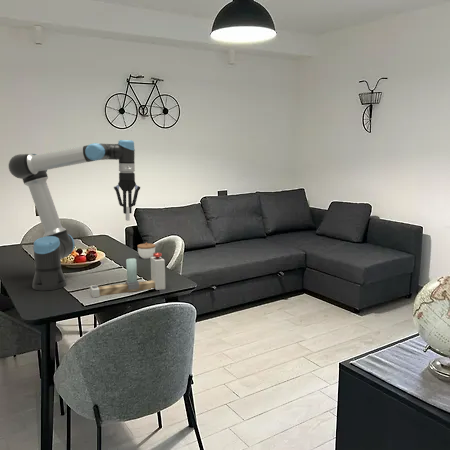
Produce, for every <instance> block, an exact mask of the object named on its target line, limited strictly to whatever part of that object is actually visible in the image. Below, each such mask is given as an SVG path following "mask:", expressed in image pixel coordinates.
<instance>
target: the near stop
mask: <svg viewBox="0 0 450 450" xmlns="http://www.w3.org/2000/svg"><path fill="white" fill-rule="evenodd" d="M98 287H99V286H98V284H96V285H95V284H94V285H90V286H89V290H90V292H89V293H90V295H91V296H92V298H93V299H94V298H100V292H99V288H98Z"/></svg>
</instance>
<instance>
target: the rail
mask: <svg viewBox="0 0 450 450" xmlns="http://www.w3.org/2000/svg"><path fill="white" fill-rule="evenodd" d="M138 282H139V289H131V290H128V285H127V284H125V283H120V284H112V285H101V286H98V288H99V292H100V296H107V295H117V294H125V293H133V292H140V291H139V290H141V291H145V289H148V290H152V289H151V288H155V282H154V281H153V280H151V279H150V280H146V281H145V280H143V281H138Z"/></svg>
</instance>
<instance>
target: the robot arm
mask: <svg viewBox="0 0 450 450" xmlns="http://www.w3.org/2000/svg"><path fill="white" fill-rule="evenodd" d="M135 152H136V150H135V142H134V140H132V139H131V140H130V139H119V140H118V141H117V143H98V142H95V143H90V144H88V145H81V146H74V147H72V148H71V147H70V148H67V149H66V148H65V149H61V150H56V151H50V152H44V153H39V154H36V153H24V154H23V153H21V154H20V153H19V154H15V155H14V156H12V157H11V158H10V160H9V162H8V170H9V172H10V174H11V175H12V176H13V177H15V178H17V179H19V180H20V179H21V180H22V182H23V185H25V186H27V187H28V189H29V192H30V194H31V198H32V201H33V203H34V206H35V208H36V212H37V214H38V218H39V220H40V223H41V225H42V228H43V231H44V233H43V235H42V237H39V238H37V239H36V240H34V242H33V249H32V250H33V259H34V270H35V273H34V275H33V279H32V285H31V286H32V289H33V290H36V291H43V292H44V291H55V290H59V289H61V288H65V287H66V285H67V282H66V277H65V276H64V273H63V270H62V262H61V261H62V260H63V259H64V258H67V257H68V256H70V255H71V253H73V251H74V249H75V244H76V243H75V239H74V238H73V237H72V235H70V234H69V233H68V230H67V229H66V228H65V227H63V226H62V223H61V221H60V220H61V219H60V217H59V215H58V211H57V208H56V206H55V203H54V199H53V198H52V195H51V192H50V188H49V186H48V183H47V180H48V179H49V176H48V174H47V172H48V170H53V169H59V168H63V167H68V166H69V167H70V166H74V165H79V164H84V163H91V162H97V161H106V160H108V161H109V160H111V161H112V160H116V161H118V171H119V172H118V183H117V185H116V186H113V189H114V191H115V193H116V196H117V200H118V201H117V202H118V205H119V206H120V207H122V208H123V211H122V212H123V214H124V215H125V221H126V222H127V221H131V217H130V215H131V214H132V212H133V211H132V210H133V209H132V208H133V207H134V206H136V204H137V199H138V194H139V191H140V190H141V186H139V185H137V183H136V173H135V171H136V170H135V166H136V165H135V158H136V157H135V155H136V154H135ZM120 189H121V191H122V195H121V192H120ZM133 189H134V193H133ZM132 193H133V194H132ZM132 195H133V197H132ZM121 196H122V197H121ZM127 198H128V199H127ZM127 202H128V203H127ZM127 204H128V206H127Z"/></svg>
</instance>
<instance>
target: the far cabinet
mask: <svg viewBox="0 0 450 450" xmlns="http://www.w3.org/2000/svg"><path fill="white" fill-rule="evenodd" d="M151 280H153V281H154V282H155V290H156V291H158V290H159V291H160V290H166V260H165V259H164V258H162V256H160V259H159V260H155V257H154V256H152V257H151V258H150V281H151Z"/></svg>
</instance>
